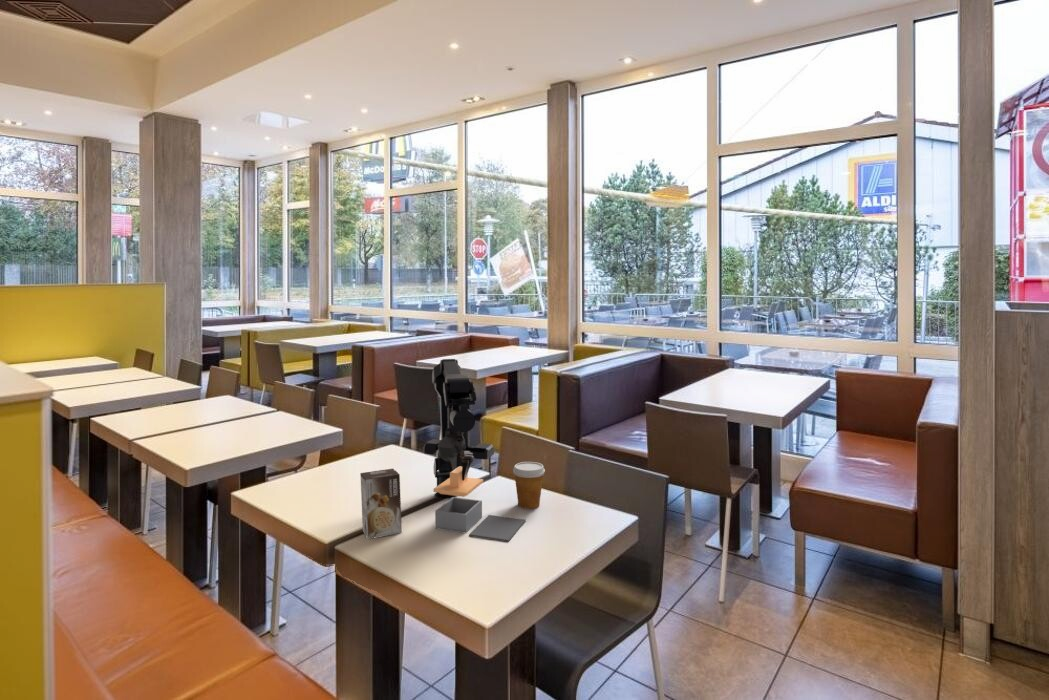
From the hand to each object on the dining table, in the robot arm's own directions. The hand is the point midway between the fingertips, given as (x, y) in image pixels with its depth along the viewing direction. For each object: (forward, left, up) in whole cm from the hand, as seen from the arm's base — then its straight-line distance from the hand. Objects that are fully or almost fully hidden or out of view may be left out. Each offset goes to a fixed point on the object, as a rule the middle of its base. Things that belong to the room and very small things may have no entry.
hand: (458, 479), depth 162 cm
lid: (0, 0, -3) cm, 3 cm away
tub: (0, 0, -12) cm, 12 cm away
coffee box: (-17, -12, -13) cm, 24 cm away
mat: (+11, 0, -12) cm, 17 cm away
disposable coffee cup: (+14, +19, -13) cm, 27 cm away
